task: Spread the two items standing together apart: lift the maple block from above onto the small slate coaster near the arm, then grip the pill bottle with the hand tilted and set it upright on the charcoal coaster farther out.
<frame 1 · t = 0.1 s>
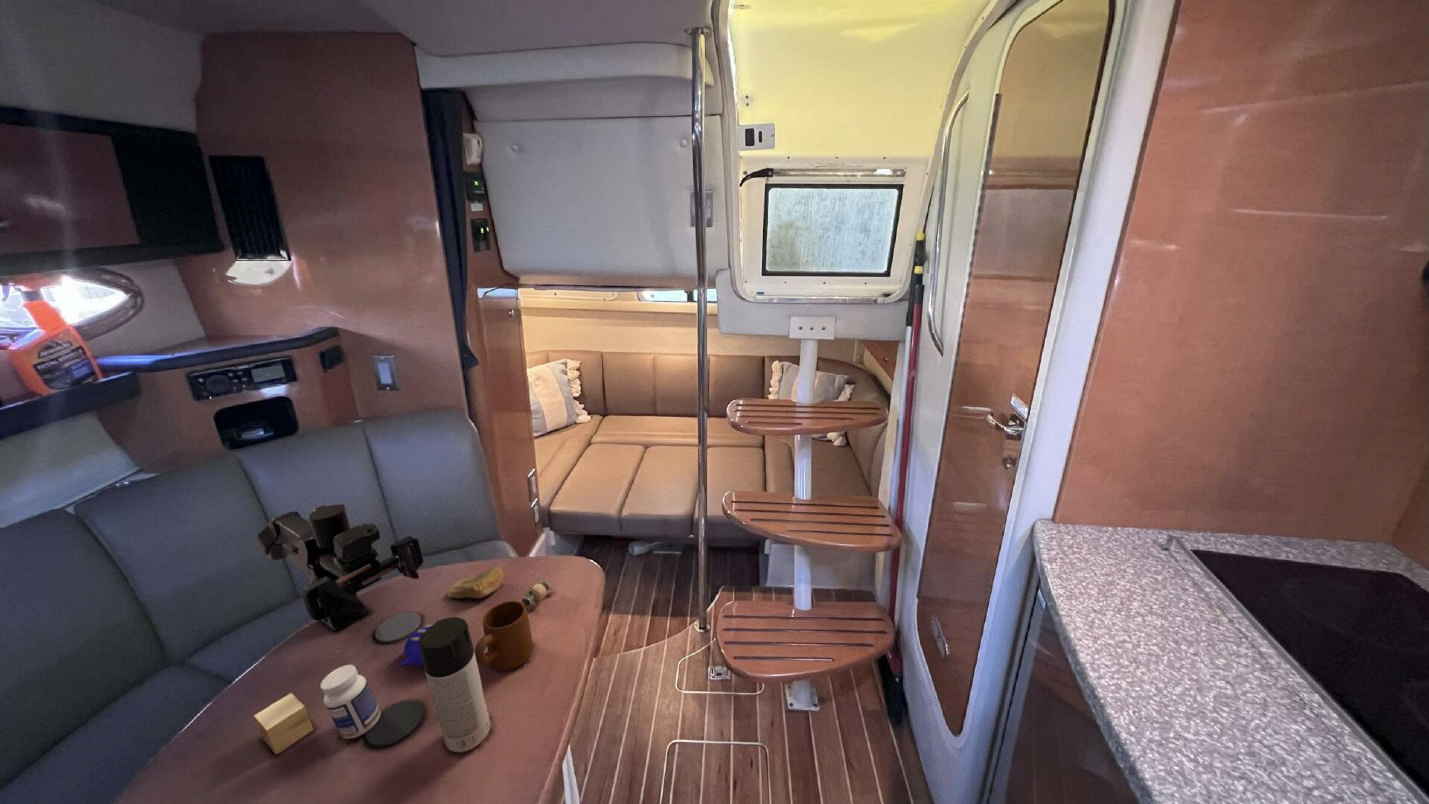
hand: (391, 590, 91), 17 cm above the table, tool horizontal, fingers open, 9 cm apart
block: (288, 734, 84), on the table
pill bottle: (362, 724, 85), on the table, touching coaster a
spray can: (468, 735, 83), on the table
coaster a: (395, 724, 85), on the table
stone: (492, 584, 114), point 3 cm above the table
coaster b: (398, 628, 106), on the table
mug: (505, 665, 96), on the table
vase: (547, 580, 112), point 4 cm above the table
decorative object: (433, 659, 98), on the table
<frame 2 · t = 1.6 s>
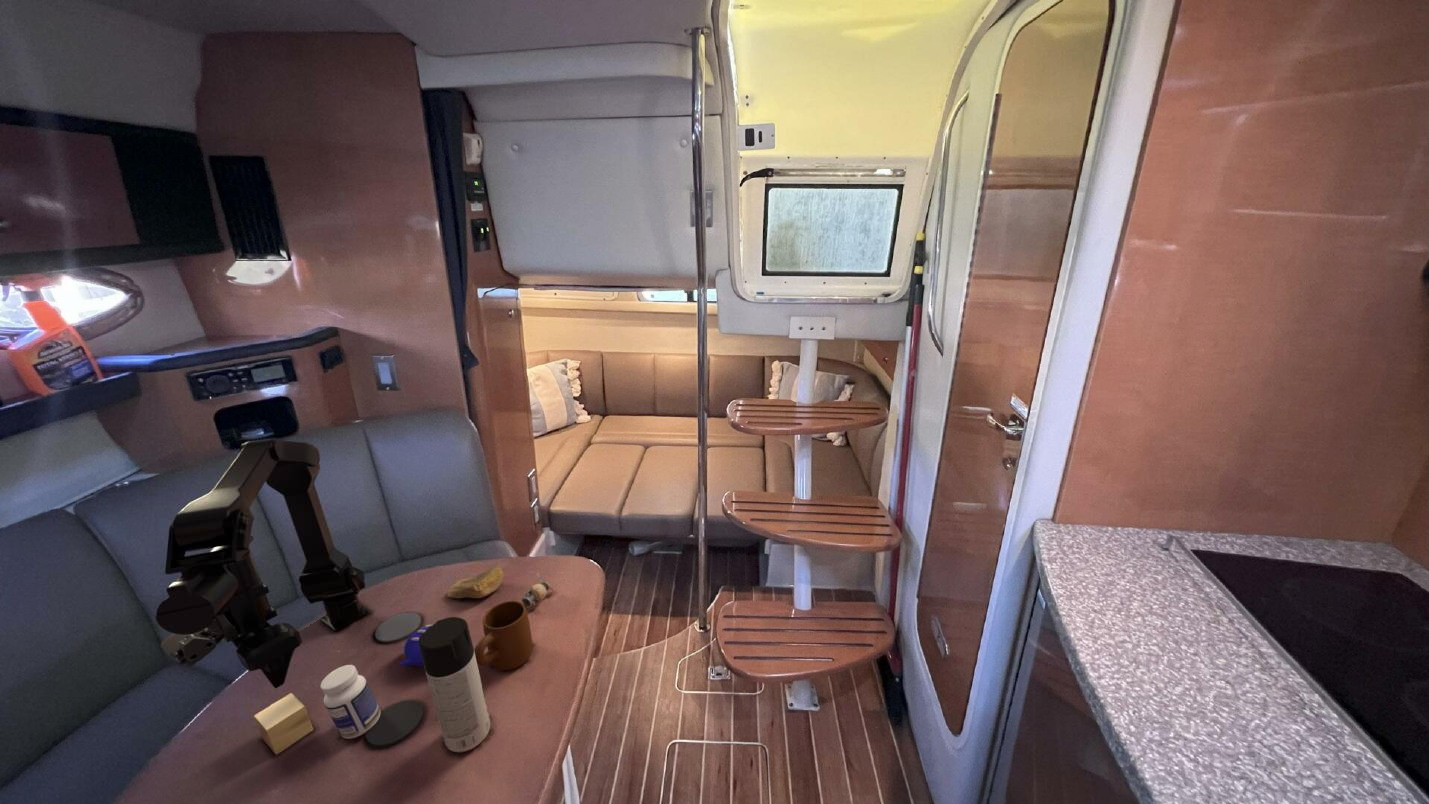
hand: (266, 673, 80), 12 cm above the table, tool pointing down, fingers open, 9 cm apart
nothing on the table moved.
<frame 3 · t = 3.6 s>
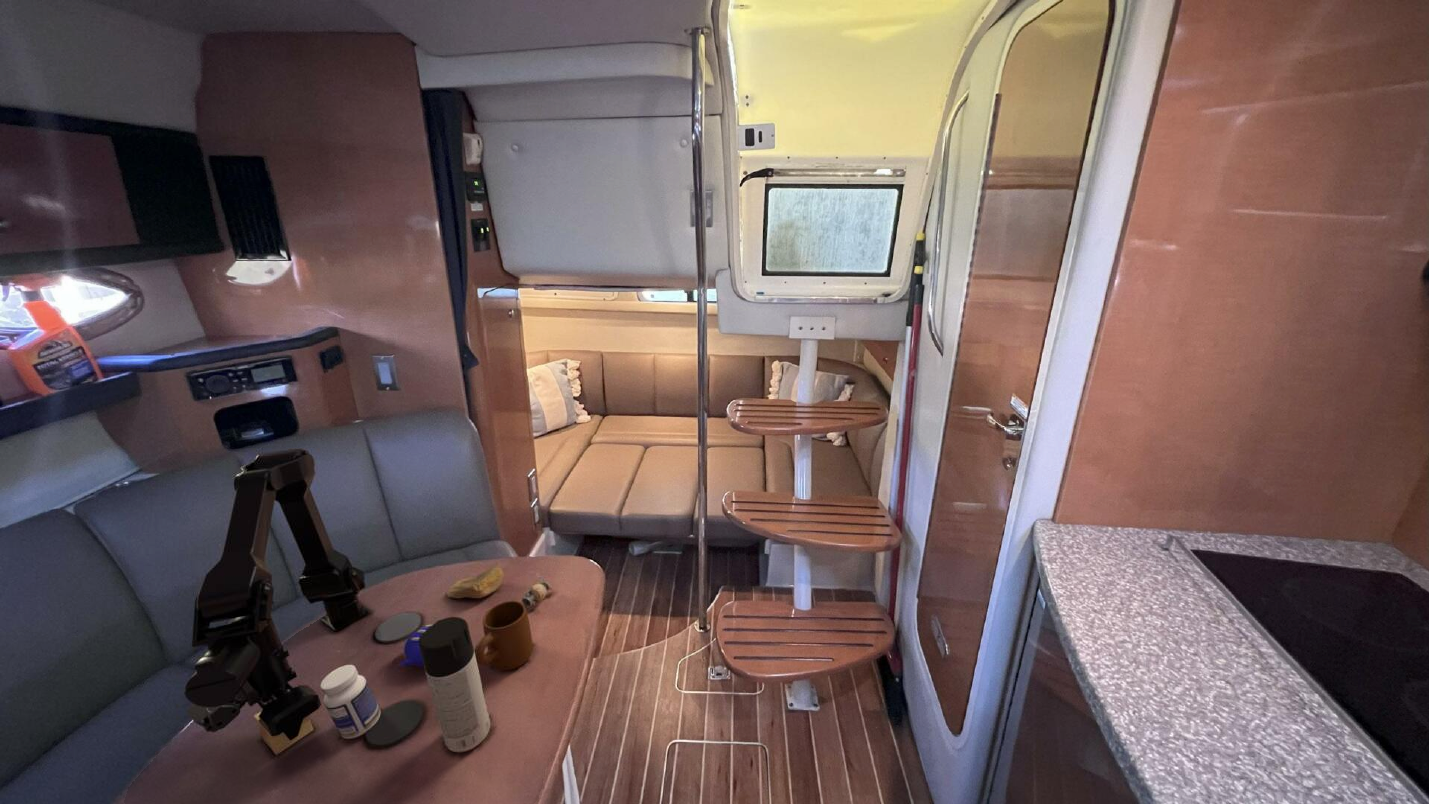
hand: (286, 729, 84), 1 cm above the table, tool pointing down, fingers closed on block, 5 cm apart
block: (288, 734, 84), on the table, touching gripper
everything else where it was.
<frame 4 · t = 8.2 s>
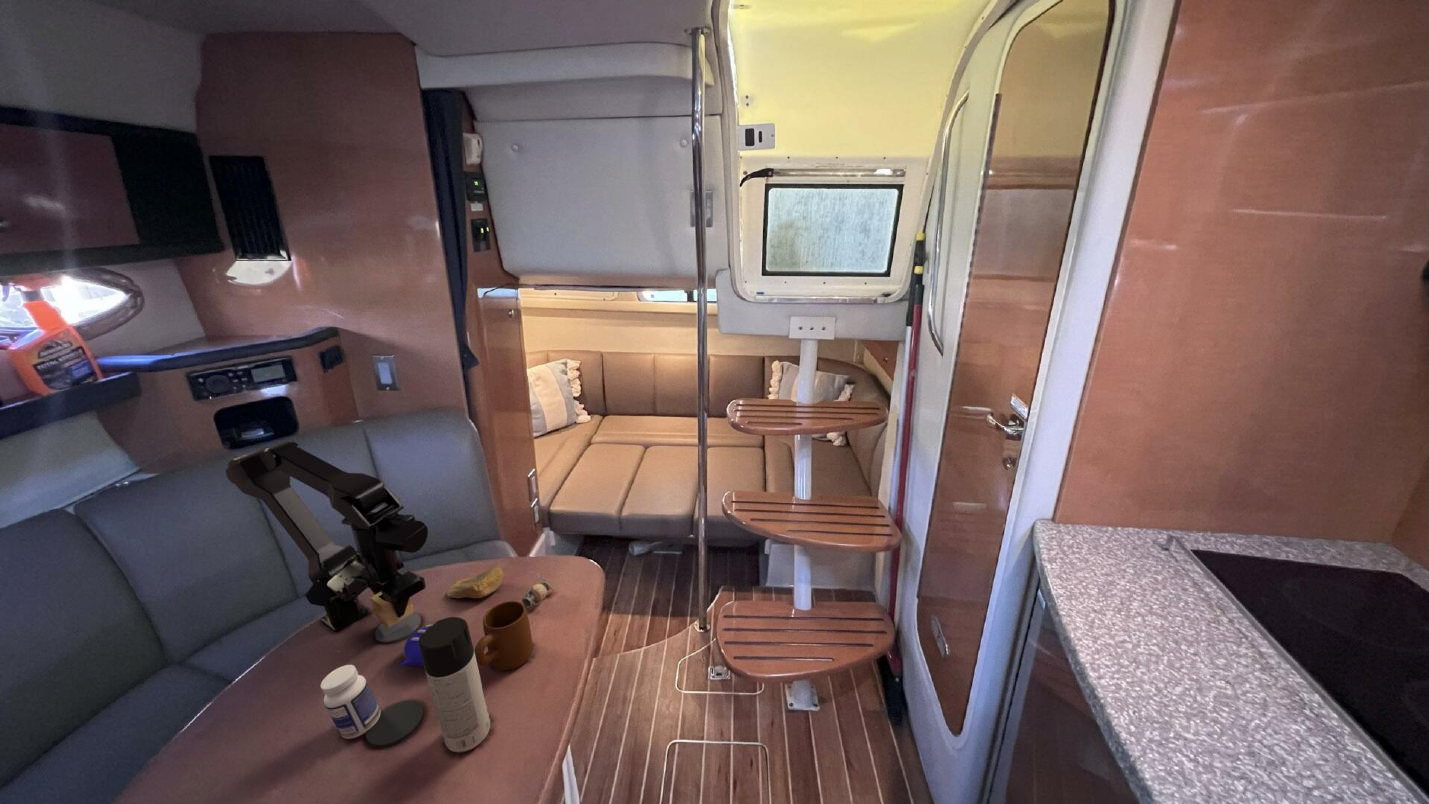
hand: (393, 611, 105), 4 cm above the table, tool pointing down, fingers closed on block, 5 cm apart
block: (395, 615, 105), point 3 cm above the table, touching gripper
everything else where it was.
when the fingers open (1 cm above the table, at t = 9.3 s): block stays where it is, resting on coaster b.
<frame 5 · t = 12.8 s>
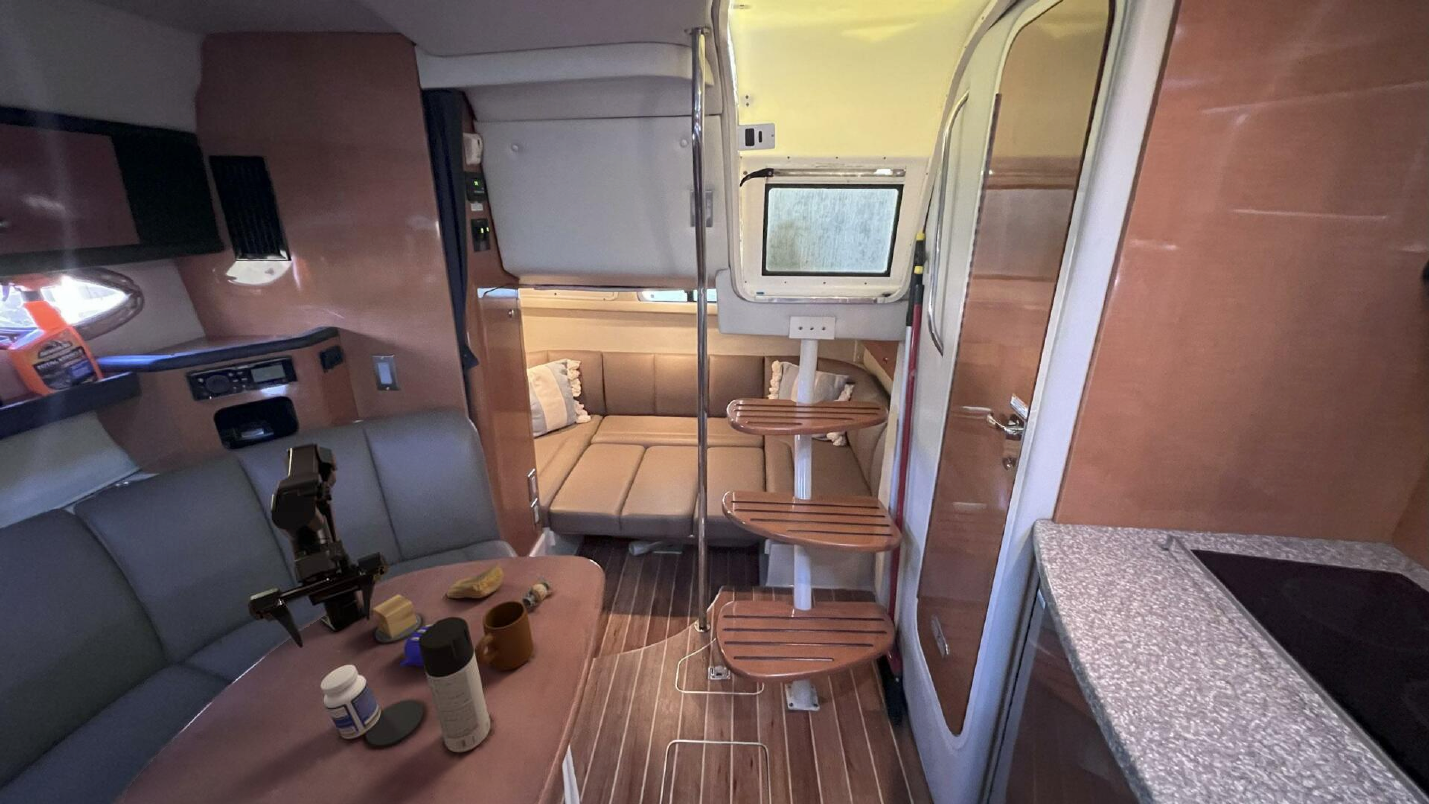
hand: (335, 633, 87), 13 cm above the table, tool tilted 45°, fingers open, 9 cm apart
block: (398, 625, 106), resting on coaster b
everything else where it was.
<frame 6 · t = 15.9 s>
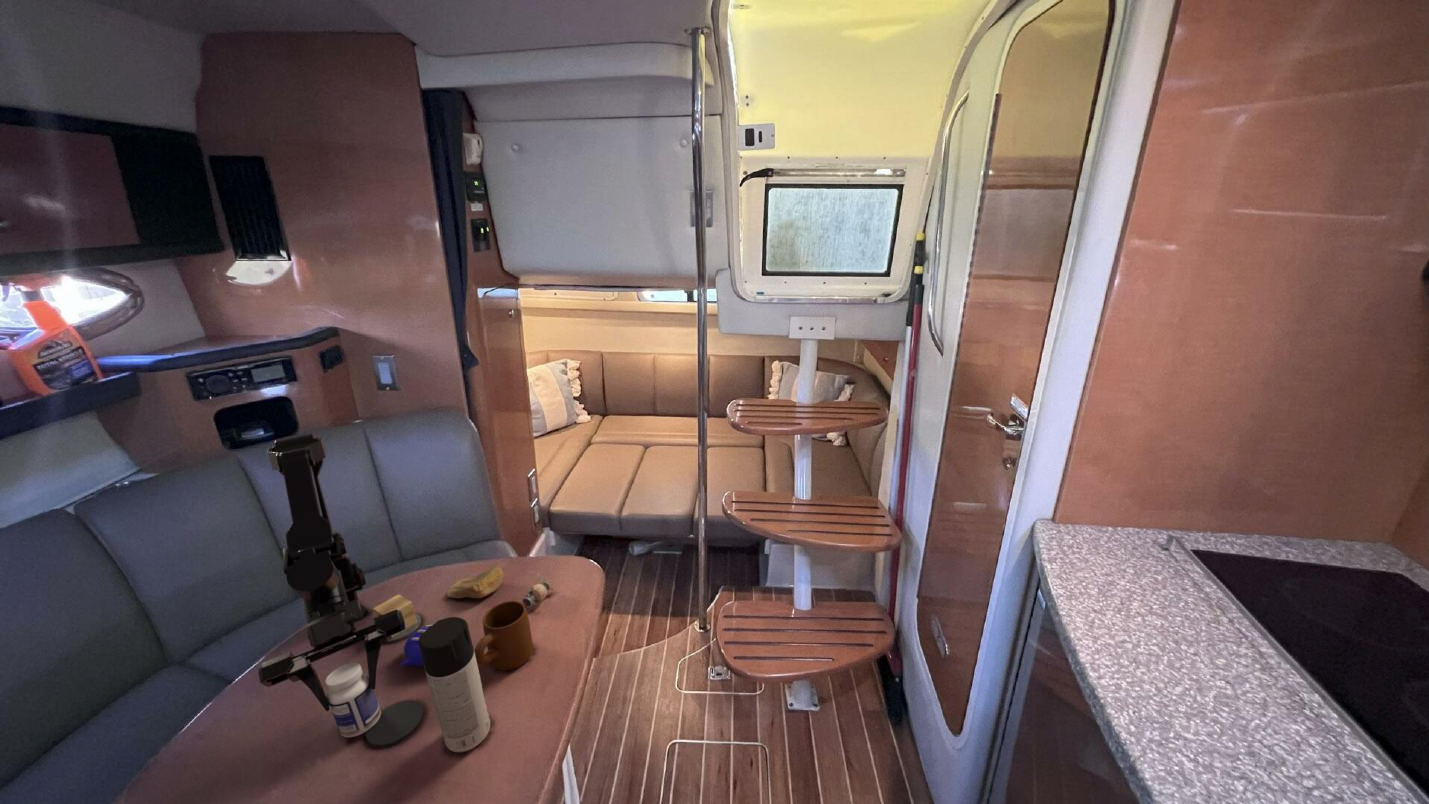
hand: (351, 699, 82), 7 cm above the table, tool tilted 45°, fingers closed on pill bottle, 5 cm apart
pill bottle: (361, 724, 85), on the table, touching coaster a, gripper
everything else where it was.
when the fingers open (7 cm above the table, at t = 20.3 s): pill bottle stays where it is, resting on coaster a.
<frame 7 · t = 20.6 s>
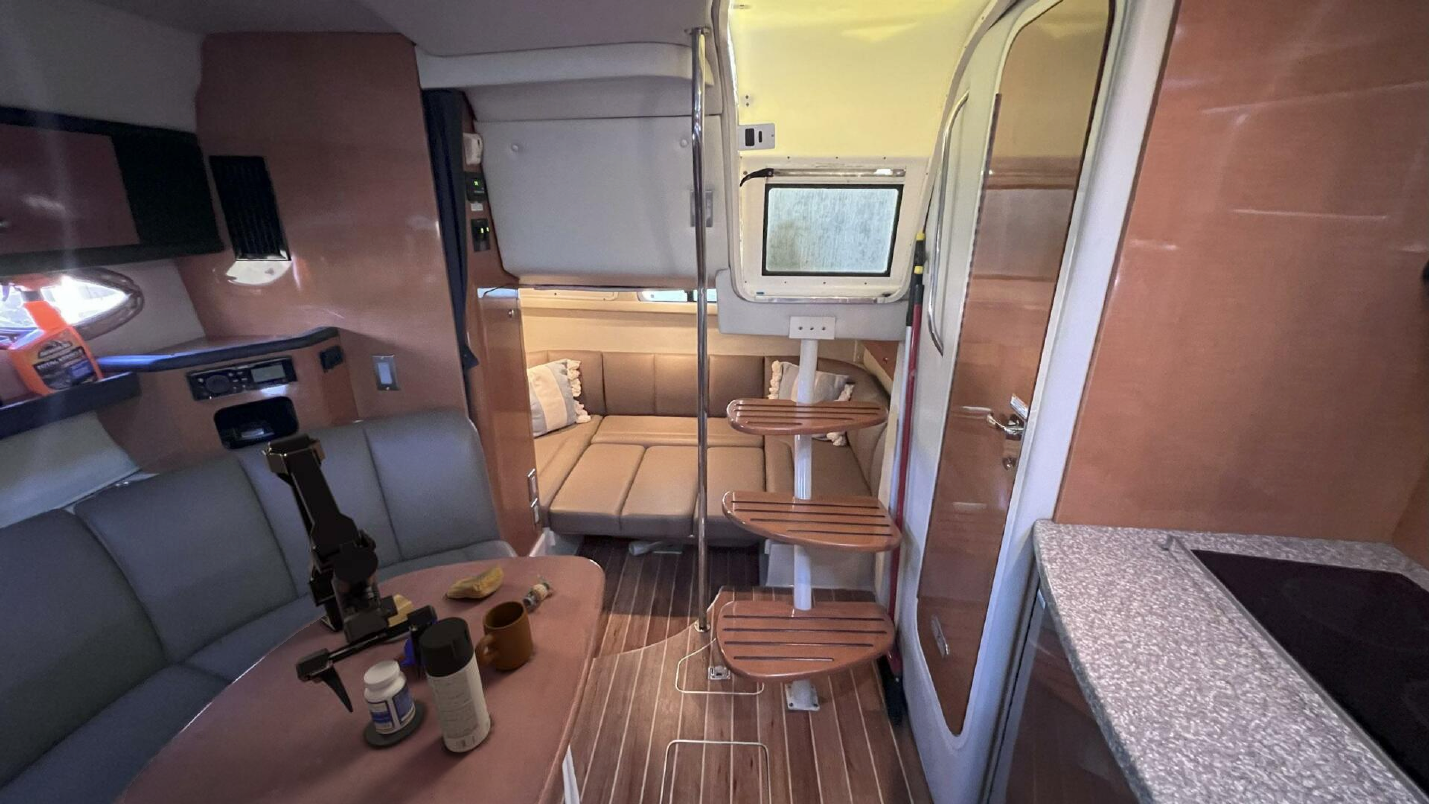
hand: (386, 695, 82), 7 cm above the table, tool tilted 45°, fingers open, 9 cm apart
pill bottle: (396, 720, 85), resting on coaster a
everything else where it was.
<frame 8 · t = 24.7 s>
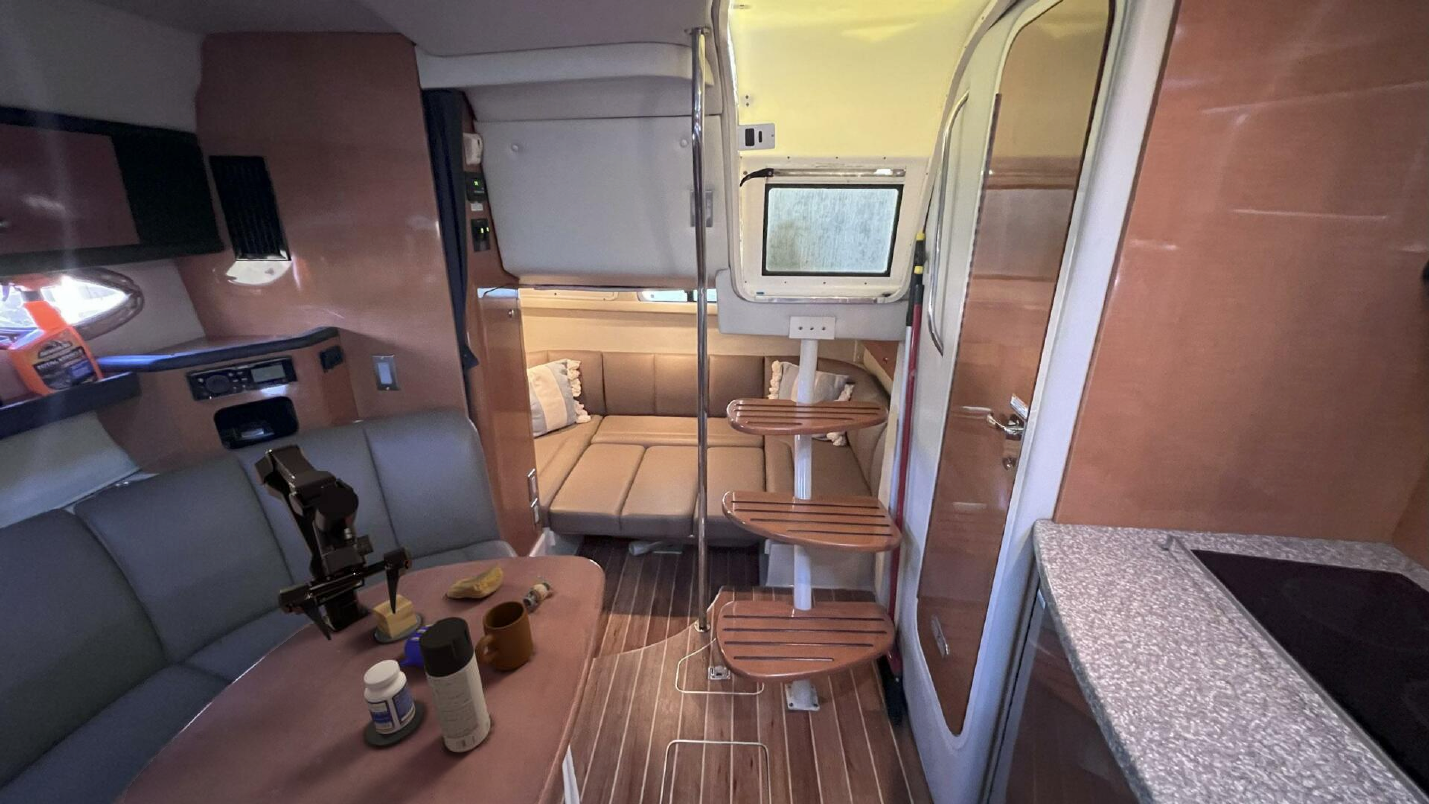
hand: (363, 626, 88), 13 cm above the table, tool tilted 45°, fingers open, 9 cm apart
nothing on the table moved.
at the end: block 0.0 cm off-centre on the coaster b, point 0.5 cm above the coaster b's base; pill bottle 0.4 cm off-centre on the coaster a, point 0.3 cm above the coaster a's base; pill bottle tilted 0° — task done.
